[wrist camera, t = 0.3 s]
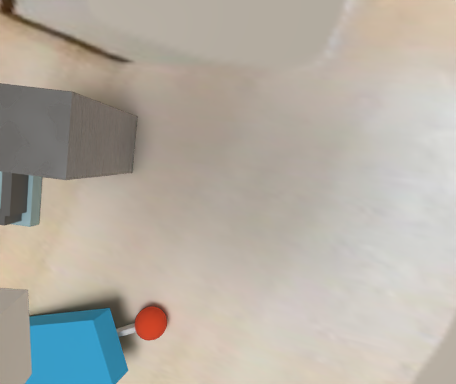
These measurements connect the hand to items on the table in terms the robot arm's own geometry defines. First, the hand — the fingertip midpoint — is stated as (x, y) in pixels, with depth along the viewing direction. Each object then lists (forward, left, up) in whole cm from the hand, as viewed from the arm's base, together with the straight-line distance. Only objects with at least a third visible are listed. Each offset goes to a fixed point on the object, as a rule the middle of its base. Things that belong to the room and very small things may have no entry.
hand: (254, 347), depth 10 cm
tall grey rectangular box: (-5, -17, -26) cm, 31 cm away
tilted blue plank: (+16, -16, -27) cm, 35 cm away
